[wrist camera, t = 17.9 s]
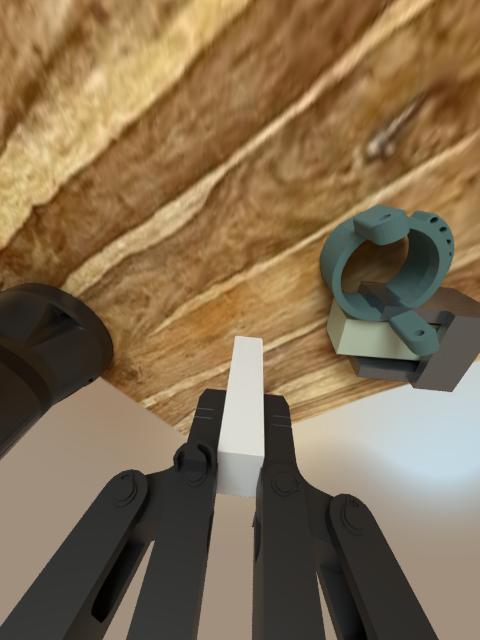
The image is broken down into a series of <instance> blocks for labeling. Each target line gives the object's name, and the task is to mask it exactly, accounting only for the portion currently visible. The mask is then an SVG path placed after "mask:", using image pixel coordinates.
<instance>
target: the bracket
mask: <svg viewBox="0 0 480 640" xmlns="http://www.w3.org/2000/svg"><path fill="white" fill-rule="evenodd" d="M406 235H407V236H408V240H409V249H408V255H407V257H406V260H405V263H404V264H403V266H402V268H401V269H400V271H399V272H398V273H397V275H396V276H395V277H394V278H393V279H391V280H390V281H389V282H388V283H386V284H385V286H386V287H388V288H389V289H390V290H391V291H392V292H394V293H395V294H396V295H397V296H398V297H400V298H401V300H399V301H400V302H401V303H402V304H403V305H404V306H406V307H410V308H418V307H419V306H421V305H422V304H423V303H425V302H426V301H427V300H428V299H429V298H430V297H431V296H432V295H433V294H434V293H435V292H436V291H437V289H438V288H439V286H440V285H441V283H442V281H443V279H444V277H445V275H446V273H447V272H448V270H449V268H450V266H451V262H452V259H453V255H454V240H453V235H452V233H451V230H450V228H449V226H448V225H447V224H446V222H445V221H444V220H443V219H442V218H441V217H439V216H438V215H437V214H433V213H428V212H423V211H418V210H417V211H415V212H414V213H413V214H412V215H411V217H408V216H406V213H405V210H401V209H396V208H392V207H387V206H383V205H376V206H374V207H372V208H370V209H368V210H367V211H365V212H361V213H359V214H357V215H356V216H354V217H352V218H350V219H348V220H346V221H345V222H343V223H341V224H340V225H338V226H337V227H336V228H335V229H334V230H333V232H332V233H331V234H330V236H329V237H328V238H327V240H326V242H325V244H324V246H323V249H322V252H321V257H320V269H321V273H322V276H323V278H324V280H325V282H326V284H327V285H328V287H329V289H330V291H331V292H332V294H333V296H334V297H335V299H336V301H337V302H338V304H339V305H340V307H341V308H342V309H343V310H344V311H345V312H347V313H348V314H350V315H351V316H353V317H355V318H358V319H362V320H367V321H384V320H388V322H389V325H390V327H391V328H392V329H393V331H394V332H395V333H396V334H397V335H398V337H399V338H400V339H401V340H402V341H403V343H404V344H405V345H406V346H407V347H408V348H409V350H410V351H411V352H412V353H414V354H415V355H420V356H426V355H430V354H433V353H435V352H436V351H438V349H439V347H440V345H439V341H438V337H437V333H436V330H435V329H433V328H432V327H431V326H430V325H429V324H428V323H427V322H426V321H424V320H423V319H422V318H421V317H420V316H419V315H418V314H417V313H415V312H414V311H413V310H410V311H407V312H405V313H402V314H400V315H397V316H395V317H392V318H390V319H382V318H380V317H381V315H382V314H381V313H380V312H379V311H378V310H377V309H376V308H372V307H371V306H370V305H369V304H368V303H367V301H366V300H365V299H364V298H363V297H362V295H361V294H360V293H357V294H354V293H347V292H344V291H341V275H342V271H343V268H344V266H345V263H346V261H347V260H348V258H349V257H350V255H351V254H352V252H353V251H354V250H355V249H356V248H357V247H358V246H359V245H360V244H362V243H363V242H364V241H366V240H367V239H369V240H370V241H372V242H374V243H376V244H377V245H386V244H390V243H393V242H395V241H397V240H400V239H401V238H403V237H405V236H406Z"/></svg>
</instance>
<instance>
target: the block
mask: <svg viewBox="0 0 480 640" xmlns="http://www.w3.org/2000/svg"><path fill="white" fill-rule="evenodd" d="M428 324H429V325H430V326H431V327H432V328H433V329H435V330H436V333H437V331H438V330H439V328H440V326H441V324H439V323H428ZM326 330H327V332H328V334H329V337H330V339H331V342H332V344H333V346H334V349H335V351H336V354H344V355H357V356H369V357H382V358H395V359H407V360H420V361H421V360H422V358H423V356H420V355H415V354H414V353H412V352H411V351H410V350H409V348H408V347H407V346H406V345H405V344H404V343H403V341H402V340H401V339H400V338H399V337H398V335H397V334H396V333H395V332H394V331H393V329H392V328H391V327H390V325H389V322H388V320H384V321H367V320H362V319H358V318H355V317H353V316H351V315H350V314H348V313H347V312H345V311H344V310H343V309H342V308H341V307H340V305H339V304H338V302H337V301H336V299H335V297H334V298H333V302H332V306H331V310H330V314H329V318H328V322H327V326H326Z"/></svg>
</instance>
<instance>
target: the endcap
mask: <svg viewBox="0 0 480 640" xmlns="http://www.w3.org/2000/svg"><path fill="white" fill-rule="evenodd" d="M385 284H386V283H379V282H366V281H361V284H360V287H359V290H358V293H360V294H361V295H362V297H363V298H364V299H365V300H366V301H367V303H368V304H369V305H370V306H371V307H372V308H376V309H377V310H378V311H379V312H380V313H381V314H382V315H381V317H380V318H382V319H390V318H392V317H395V316H397V315H400V314H402V313H405V312H407V311H410V310H413V311H414V312H415V313H417V314H418V315H419V316H420V317H421V318H422V319H423V320H424V321H426V322H427V323H439V324H441V326H440V328H439V330H438V331H437V337H438V341H439V345H440V347H439V349H438V351H436V352H435V353H433V354H430V355H426V356H423V358H422V360H421V361H420V360H407V359H395V358H382V357H369V356H357V355H347V356H348V358H349V360H350V363H351V365H352V367H353V369H354V371H355V373H356V375H357V377H365V378H375V379H384V380H394V381H404V382H410V384H411V385H412V387H413V388H418V389H427V390H438V391H447V392H452V391H453V390H454V388H455V387H456V385H457V384H458V383H459V381H460V380H461V378H462V377H463V376H464V374H465V373H466V371H467V370H468V368H469V367H470V366H471V364H472V363H473V361H474V360H475V359H476V357H477V356H478V354H479V353H480V303H479V302H477V301H476V300H474V299H472V298H470V297H468V296H467V295H465V294H463V293H461V292H459V291H458V290H456V289H454V288H442V287H439V288H438V289H437V291H436V292H435V293H434V294H433V295H432V296H431V297H430V298H429V299H428V300H427V301H426V302H425V303H423V304H422V305H421V306H419V307H418V308H410V307H406V306H404V305H403V304H402V303H401V302H400V301H399V300H401V298H400V297H398V296H397V295H396V294H395V293H394V292H392V291H391V290H390V289H389V288H388V287H386V286H385Z"/></svg>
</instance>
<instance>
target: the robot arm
mask: <svg viewBox="0 0 480 640" xmlns="http://www.w3.org/2000/svg"><path fill="white" fill-rule="evenodd" d="M112 354H113V348H112V342H111V339H110V336H109V334H108V332H107V330H106V328H105V326H104V325H103V323H102V322H101V321H100V319H99V318H98V317H97V316H96V315H95V313H94V312H93V311H92V310H91V309H89V308H88V307H87V306H86V305H85V304H84V303H82V302H81V301H80V300H78V299H77V298H75V297H73V296H72V295H70V294H68V293H66V292H64V291H62V290H60V289H57V288H54V287H51V286H48V285H43V284H36V283H27V284H20V285H17V286H14V287H12V288H9V289H7V290H5V291H2V292H0V460H1V459H2V458H3V457H4V456H5V455H6V454H7V453H8V452H9V451H10V450H11V449H12V447H14V445H15V444H16V443H17V442H18V441H19V440H20V439H21V438H22V437H23V436H24V435H25V434H26V433H27V432H28V431H29V430H30V429H31V427H32V426H33V425H34V424H35V423H36V422H37V421H38V420H39V419H40V418H41V417H42V416H43V415H44V414H45V413H46V412H47V411H48V410H49V409H50V408H51V407H52V406H53V405H55V404H56V403H58V402H60V401H61V400H63V399H65V398H67V397H68V396H70V395H72V394H73V393H75V392H76V391H78V390H79V389H81V388H82V387H85V386H87V385H89V384H90V383H92V382H93V381H95V380H96V379H97V378H98V377H99V376H100V375H101V374H102V373H103V371H104V370H105V369H106V368H107V367H108V365H109V364H110V362H111V359H112ZM173 460H174V466H172V467H170V468H169V469H166V470H164V471H160V472H156V473H152V474H148V475H144V474H143V473H141V472H140V471H138V470H132V469H131V470H126V471H122V472H121V473H119V474H118V475H116V476H114V477H113V478H112V479H111V480H110V481H109V482H108V483H107V484H106V486H105V487H104V488H103V490H102V491H101V492H100V494H99V495H98V496H97V498H96V499H95V500H94V502H93V503H92V504H91V506H90V507H89V508H88V510H87V511H86V513H85V514H84V515H83V517H82V518H81V519H80V520H79V522H78V523H77V525H76V526H75V527H74V529H73V530H72V531H71V533H70V534H69V535H68V537H67V538H66V539H65V541H64V542H63V543H62V545H61V546H60V547H59V549H58V550H57V551H56V553H55V554H54V555H53V557H52V558H51V559H50V561H49V562H48V563H47V565H46V566H45V568H44V569H43V570H42V572H41V573H40V574H39V576H38V577H37V578H36V580H35V581H34V582H33V584H32V585H31V586H30V588H29V589H28V590H27V592H26V593H25V594H24V596H23V597H22V599H21V600H20V601H19V602H18V604H17V605H16V607H15V608H14V609H13V611H12V612H11V613H10V615H9V616H8V617H7V619H6V620H5V622H4V623H3V624H2V625H1V627H0V640H102V639H103V637H104V635H105V633H106V631H107V629H108V627H109V625H110V623H111V621H112V619H113V617H114V615H115V613H116V611H117V609H118V607H119V605H120V603H121V601H122V599H123V597H124V595H125V593H126V591H127V589H128V587H129V585H130V583H131V581H132V579H133V577H134V575H135V573H136V571H137V569H138V567H139V565H140V563H141V561H142V559H143V557H144V555H145V553H146V551H147V549H148V547H149V545H150V543H151V541H154V540H155V542H154V546H153V549H152V552H151V556H150V559H149V563H148V566H147V570H146V573H145V577H144V580H143V583H142V587H141V590H140V594H139V597H138V600H137V604H136V607H135V611H134V614H133V618H132V621H131V625H130V628H129V632H128V635H127V638H126V640H197V633H198V626H199V619H200V612H201V604H202V597H203V590H204V582H205V574H206V568H207V560H208V553H209V546H210V538H211V530H212V524H213V516H214V504H215V497H216V493H220V494H228V495H237V496H245V497H253V498H255V497H256V512H255V515H254V521H253V526H252V527H254V560H253V565H254V566H253V613H252V640H326V638H325V631H324V624H323V617H322V610H321V603H320V596H319V589H318V582H317V575H318V578H319V581H320V585H321V588H322V591H323V595H324V598H325V601H326V604H327V607H328V611H329V614H330V617H331V620H332V624H333V627H334V630H335V633H336V636H337V640H439V639H438V638H437V635H436V634H435V632H434V630H433V628H432V626H431V624H430V622H429V620H428V619H427V617H426V615H425V613H424V611H423V609H422V607H421V605H420V603H419V602H418V600H417V598H416V596H415V594H414V592H413V590H412V588H411V586H410V585H409V583H408V581H407V579H406V577H405V575H404V573H403V571H402V569H401V567H400V566H399V564H398V562H397V560H396V558H395V556H394V554H393V552H392V550H391V549H390V547H389V545H388V543H387V541H386V539H385V537H384V535H383V533H382V532H381V530H380V528H379V526H378V524H377V522H376V520H375V518H374V516H373V515H372V513H371V512H370V511H369V509H368V508H367V506H366V505H365V504H363V502H361V501H360V500H359V499H358V498H356V497H354V496H352V495H350V494H339V495H337V496H335V497H333V496H331V495H329V494H327V493H324V492H322V491H320V490H318V489H316V488H314V487H313V486H311V485H310V484H309V483H308V482H307V481H306V480H305V479H304V478H303V477H302V475H301V474H300V472H299V470H298V467H297V463H296V457H295V449H294V441H293V435H292V428H291V419H290V411H289V405H288V404H287V402H286V400H285V398H284V397H283V396H278V395H268V394H263V345H262V339H261V338H251V337H241V336H236V337H235V343H234V350H233V356H232V362H231V369H230V375H229V381H228V388H227V391H225V390H216V389H206V390H205V391H204V392H203V393H202V395H201V396H200V398H199V401H198V405H197V409H196V412H195V415H194V419H193V423H192V426H191V430H190V433H189V437H188V441H187V443H185V444H183V445H182V446H181V447H180V448H179V449H178V450H177V451H176V453H175V455H174V457H173ZM316 572H317V575H316Z"/></svg>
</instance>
